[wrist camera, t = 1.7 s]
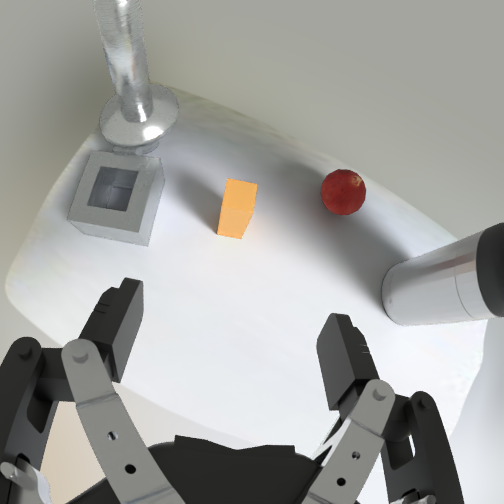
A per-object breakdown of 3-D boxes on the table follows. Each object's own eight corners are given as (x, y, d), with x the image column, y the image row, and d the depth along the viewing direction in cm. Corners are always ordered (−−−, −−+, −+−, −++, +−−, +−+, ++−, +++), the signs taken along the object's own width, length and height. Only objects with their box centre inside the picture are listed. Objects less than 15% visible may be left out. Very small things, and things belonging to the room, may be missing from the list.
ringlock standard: (188, 119, 39) (196, -84, 10) (151, 247, 34) (34, 14, 5) (126, 113, 38) (90, -71, 9) (80, 233, 33) (-79, 64, 4)
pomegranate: (308, 184, 39) (330, 155, 32) (344, 184, 41) (371, 156, 33) (317, 224, 38) (343, 200, 31) (354, 221, 39) (384, 199, 32)
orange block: (244, 216, 37) (257, 184, 28) (241, 239, 36) (253, 212, 27) (221, 211, 37) (227, 178, 28) (216, 234, 36) (221, 206, 27)
